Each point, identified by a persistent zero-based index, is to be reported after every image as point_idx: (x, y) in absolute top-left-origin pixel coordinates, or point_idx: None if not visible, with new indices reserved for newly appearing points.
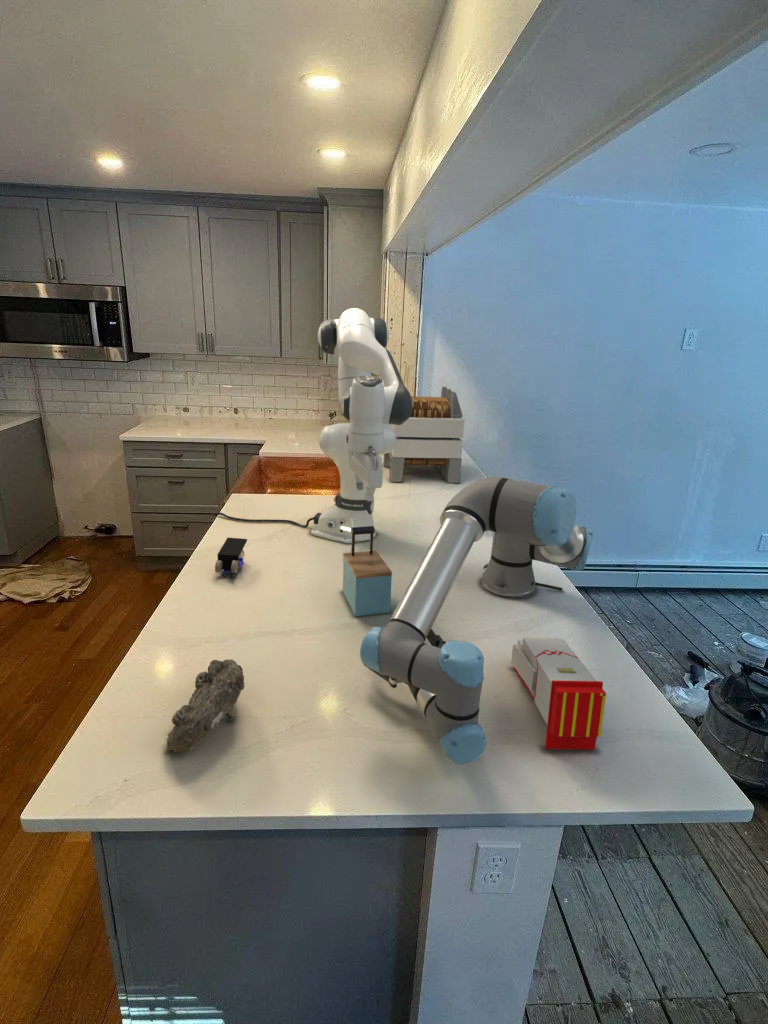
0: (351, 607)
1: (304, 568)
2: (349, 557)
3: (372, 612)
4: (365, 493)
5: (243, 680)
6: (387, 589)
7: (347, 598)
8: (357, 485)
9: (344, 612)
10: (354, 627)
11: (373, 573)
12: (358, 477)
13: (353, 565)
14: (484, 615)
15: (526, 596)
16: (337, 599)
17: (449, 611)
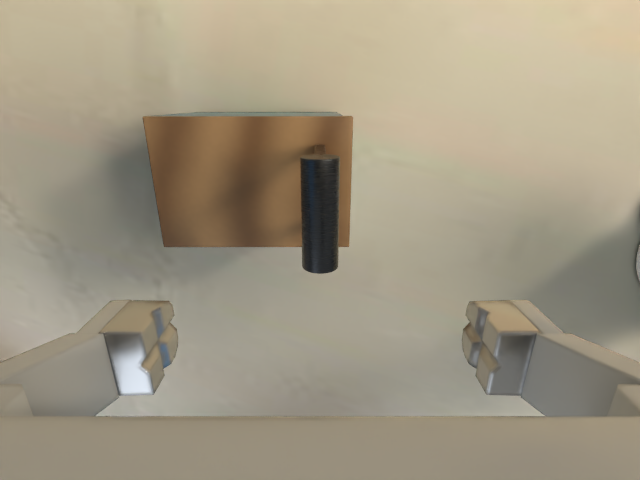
0: (232, 112)
1: (528, 20)
2: (304, 132)
3: None
4: (128, 331)
5: None
6: None
7: (279, 112)
8: (489, 323)
9: (222, 89)
10: (143, 97)
11: (155, 184)
12: (598, 400)
13: (230, 129)
14: (174, 384)
15: None
16: (297, 86)
17: (197, 330)
